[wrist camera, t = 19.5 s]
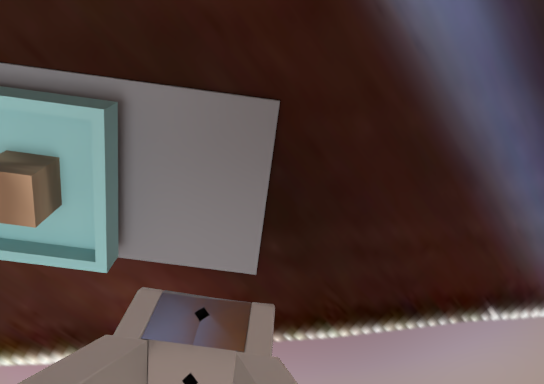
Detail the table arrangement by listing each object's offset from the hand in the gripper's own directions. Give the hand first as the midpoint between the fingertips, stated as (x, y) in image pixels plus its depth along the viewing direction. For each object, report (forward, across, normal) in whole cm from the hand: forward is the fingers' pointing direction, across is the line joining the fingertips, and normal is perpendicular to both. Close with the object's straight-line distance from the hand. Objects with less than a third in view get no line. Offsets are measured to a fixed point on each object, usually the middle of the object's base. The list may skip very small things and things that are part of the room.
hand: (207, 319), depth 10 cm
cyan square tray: (+30, +20, +10) cm, 38 cm away
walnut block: (+27, +20, +10) cm, 35 cm away
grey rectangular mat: (+30, +15, +10) cm, 35 cm away
